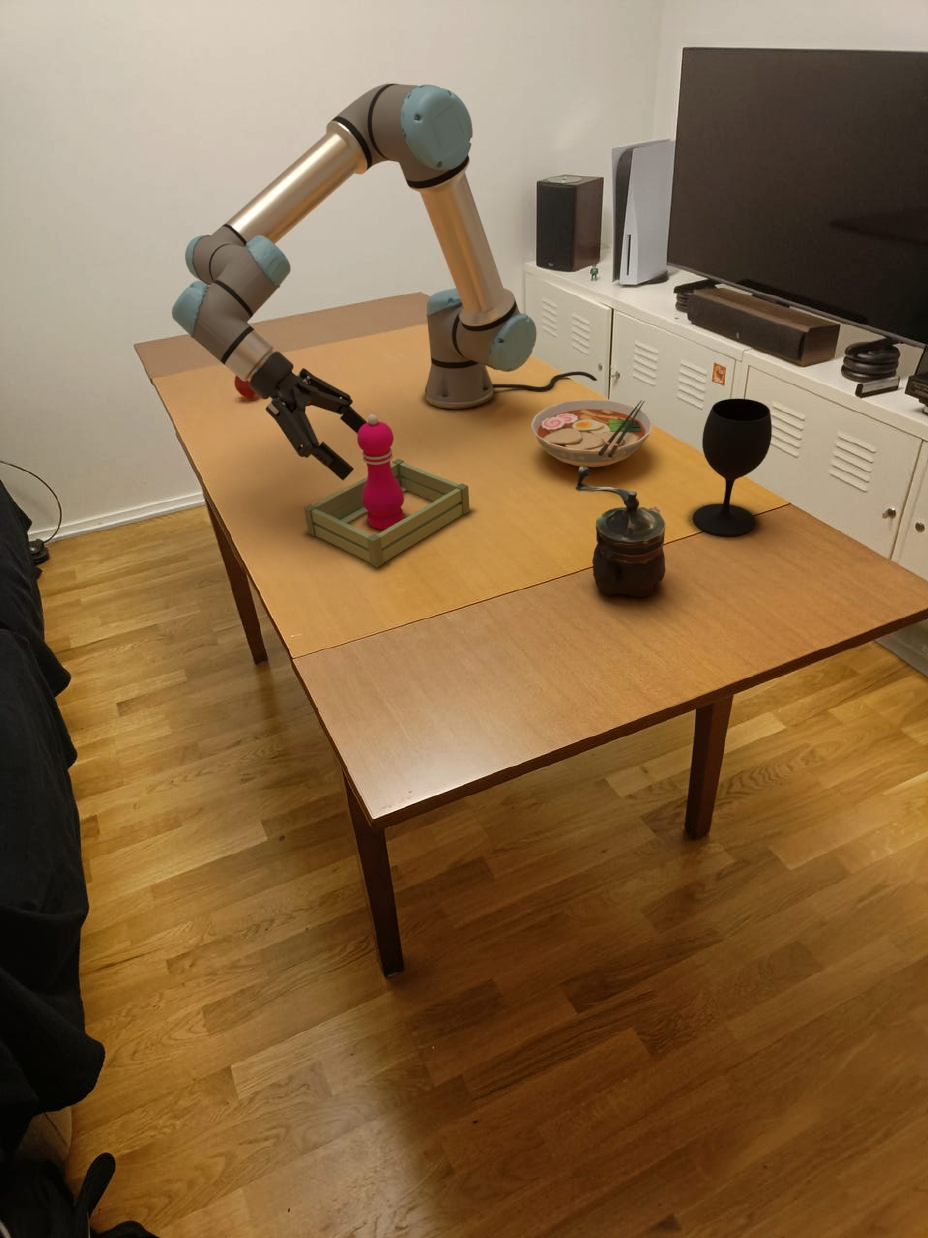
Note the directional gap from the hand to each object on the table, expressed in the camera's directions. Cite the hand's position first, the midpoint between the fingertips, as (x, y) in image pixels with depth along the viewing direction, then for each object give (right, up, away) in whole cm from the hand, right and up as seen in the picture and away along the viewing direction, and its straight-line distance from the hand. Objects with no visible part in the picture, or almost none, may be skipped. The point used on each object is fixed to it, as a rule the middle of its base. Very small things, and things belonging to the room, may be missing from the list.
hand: (361, 455), depth 142 cm
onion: (-33, +24, +55) cm, 68 cm away
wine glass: (+61, -11, +1) cm, 62 cm away
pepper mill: (+3, -10, +7) cm, 13 cm away
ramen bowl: (+42, +3, +22) cm, 47 cm away
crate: (+4, -10, +6) cm, 13 cm away
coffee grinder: (+41, -22, -12) cm, 48 cm away
